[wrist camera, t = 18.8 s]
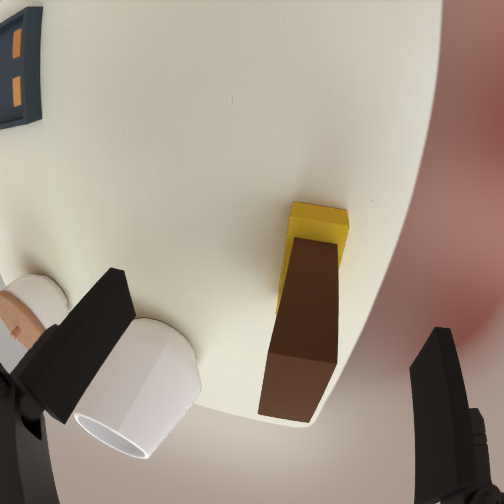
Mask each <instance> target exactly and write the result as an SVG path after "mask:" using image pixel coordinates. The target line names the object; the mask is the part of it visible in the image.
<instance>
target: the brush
mask: <svg viewBox="0 0 504 504" xmlns="http://www.w3.org/2000/svg"><path fill="white" fill-rule="evenodd" d="M348 230H349V220H348V213H347V210H341V209H336V208H330V207H324V206H318V205H312V204H306V203H300V202H293V205H292V209H291V212H290V216H289V224H288V232H287V239H286V247H285V254H284V261H283V268H282V275H281V282H280V289H279V296H278V302H277V309H276V315H277V316H276V321H275V325H274V329H273V333H272V337H271V341H270V346H269V350H268V355H267V361H266V367H265V373H264V379H263V385H262V391H261V397H260V403H259V409H258V414H260V415H265V416H270V417H275V418H281V419H287V420H293V421H299V422H306V423H309V422H310V420H311V418H312V416H313V414H314V412H315V410H316V408H317V406H318V404H319V402H320V400H321V398H322V396H323V394H324V391H325V389H326V387H327V385H328V383H329V381H330V379H331V376H332V374H333V372H334V370H335V367H336V365H337V356H338V316H339V282H338V270H339V266H340V262H341V258H342V254H343V250H344V246H345V242H346V238H347V234H348Z"/></svg>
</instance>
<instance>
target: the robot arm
mask: <svg viewBox="0 0 504 504" xmlns="http://www.w3.org/2000/svg"><path fill="white" fill-rule="evenodd" d="M135 316H136V314H135V310H134V307H133V303H132V299H131V296H130V292H129V288H128V284H127V280H126V276H125V272H124V271H123V270H119V269H115V268H110V269H109V270H108V271H107V272H106V273H105V274H104V275H103V276H102V277H101V278H100V279H99V280H98V282H97V283H96V284H95V285H94V286H93V287H92V288H91V289H90V290H89V291H88V293H87V294H86V295H85V296H84V297H83V298H82V299H81V300H80V302H79V303H78V304H77V305H76V306H75V307H74V308H73V310H72V311H71V312H70V313H69V314H68V315H67V317H66V318H65V319H64V320H63V321H62V323H61V324H60V325H57V324H53V325H52V326H50V327H49V328H47V329H46V330H45V331H44V332H43V333H42V334H41V336H40V337H39V338H38V341H36V342H35V343H34V344H33V345H32V348H30V349H29V350H28V352H27V353H26V354H25V356H24V357H23V358H22V359H21V361H20V362H19V363H18V365H17V366H16V367H15V368H14V370H13V371H12V372H11V373H10V374H9V373H8V372H7V371H6V370H5V368H4V367H3V366H2V364H1V363H0V504H60V503H59V499H58V495H57V491H56V486H55V482H54V477H53V472H52V467H51V461H50V455H49V449H48V442H47V434H46V426H45V418H44V414H43V411H44V410H46V411H47V412H48V413H49V414H50V415H51V416H52V417H53V418H55V419H56V420H58V421H60V422H61V423H63V424H65V423H66V422H67V420H68V418H69V417H70V415H71V413H72V412H73V410H74V409H75V407H76V405H77V404H78V402H79V400H80V399H81V397H82V396H83V394H84V393H85V391H86V389H87V388H88V386H89V385H90V383H91V382H92V380H93V379H94V377H95V375H96V374H97V372H98V371H99V369H100V368H101V366H102V365H103V363H104V362H105V360H106V359H107V357H108V356H109V354H110V353H111V351H112V350H113V348H114V347H115V345H116V344H117V342H118V341H119V340H120V338H121V337H122V335H123V334H124V332H125V331H126V329H127V328H128V326H129V325H130V324H131V322H132V321H133V319H134V318H135ZM409 369H410V378H411V387H412V399H413V411H414V426H415V427H414V429H415V498H414V504H435V503H438V502H440V504H504V493H502V492H500V490H499V489H498V487H497V486H495V485H493V484H492V482H491V476H490V463H489V453H488V445H487V444H486V442H487V438H486V434H485V432H486V431H485V425H484V419H483V417H482V415H481V413H480V412H479V410H478V408H469V406H468V401H467V395H466V390H465V385H464V381H463V376H462V372H461V368H460V363H459V359H458V355H457V351H456V348H455V344H454V340H453V337H452V333H451V330H450V328H441V327H434V329H433V331H432V333H431V334H430V336H429V338H428V339H427V341H426V343H425V344H424V346H423V348H422V349H421V351H420V352H419V354H418V356H417V357H416V359H415V360H414V362H413V364H412V365H411V366H410V368H409Z"/></svg>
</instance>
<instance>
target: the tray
mask: <svg viewBox="0 0 504 504" xmlns="http://www.w3.org/2000/svg"><path fill="white" fill-rule="evenodd" d="M42 9H43V7H26V8H24V9H23V10H21V11H19V12H18V13H16V14H14V15H13V16H11V17H10V18H8V19H6V20H5V21H3V22H2V23H0V129H5V128H10V127H15V126H20V125H25V124H29V123H32V122H35V121H37V120H41V119H42V113H41V98H40V34H41V20H42ZM20 28H22V41H21V58H15V59H13V36H14V32H15V31H17V30H19V29H20ZM18 76H21V92H22V105H19V106H15V107H14V101H13V78H16V77H18Z"/></svg>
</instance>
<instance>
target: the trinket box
mask: <svg viewBox="0 0 504 504" xmlns="http://www.w3.org/2000/svg"><path fill="white" fill-rule="evenodd" d="M67 307H68V302H67V299H66V296H65V294H64V293H63V291H62V290H61V288H60V287H59V286H58V285H57V284H56V283H55V282H54V281H53V280H52V279H51V278H49V277H47V276H45V275H41V276H38V275H25V276H22V277H19V278H17V279H16V280H14V281H13V282H11V283H10V284H9V285H7V286H6V287H5V288H4V289H3V290H2V291H0V317H1V319H2V320H3V322H4V323H5V325H6V326H7V328H8V329H9V330H10V332H11V333H10V334H11V336H12V337H13V338H14V339H16V338H17V340H18V341H19V342H21V343H22V344H23V345H24V346H25V347H26V348H28V349H30V348H32V345H33V344H34V343H35V342H36V341H38V338H39V337H40V336H41V334H42V333H43V332H44V331H45V330H46V329H47V328H49V327H50V326H52V325H53V324H57V325H60V324H61V323H62V321H63V320H64V319H65V318H66V317H67V315H68V312H67Z"/></svg>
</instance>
